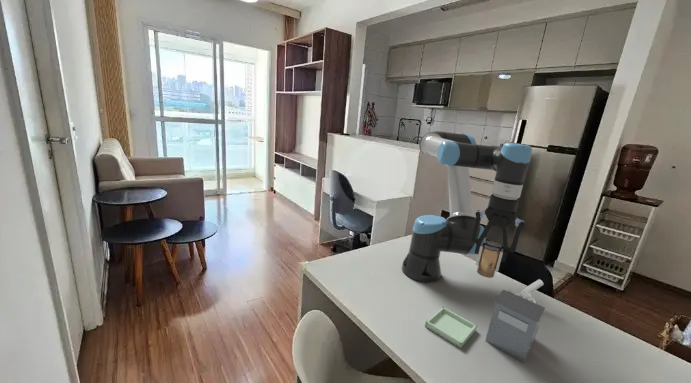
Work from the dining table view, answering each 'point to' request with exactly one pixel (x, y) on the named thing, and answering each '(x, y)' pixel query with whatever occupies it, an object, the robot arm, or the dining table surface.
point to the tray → (451, 327)
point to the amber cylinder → (489, 259)
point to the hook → (530, 290)
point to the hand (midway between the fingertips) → (486, 266)
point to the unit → (514, 324)
